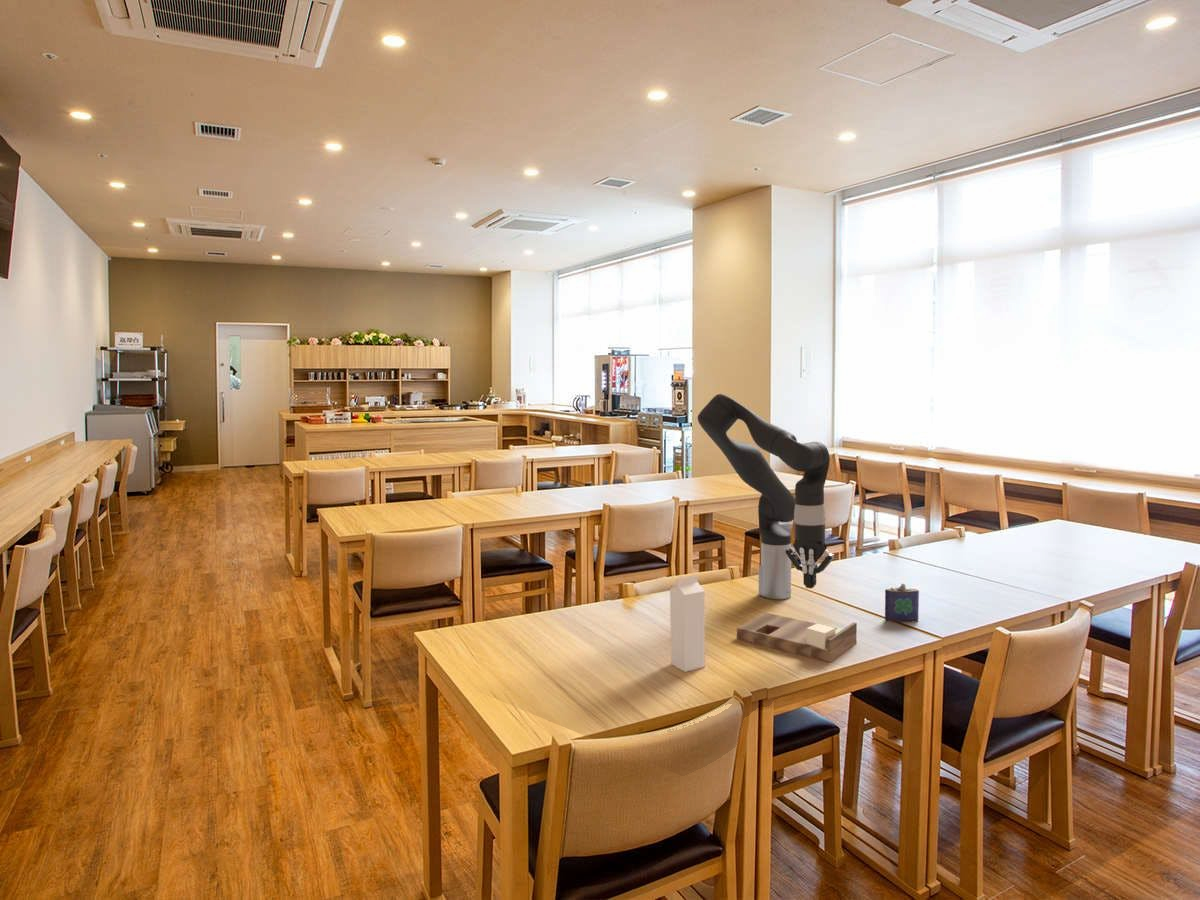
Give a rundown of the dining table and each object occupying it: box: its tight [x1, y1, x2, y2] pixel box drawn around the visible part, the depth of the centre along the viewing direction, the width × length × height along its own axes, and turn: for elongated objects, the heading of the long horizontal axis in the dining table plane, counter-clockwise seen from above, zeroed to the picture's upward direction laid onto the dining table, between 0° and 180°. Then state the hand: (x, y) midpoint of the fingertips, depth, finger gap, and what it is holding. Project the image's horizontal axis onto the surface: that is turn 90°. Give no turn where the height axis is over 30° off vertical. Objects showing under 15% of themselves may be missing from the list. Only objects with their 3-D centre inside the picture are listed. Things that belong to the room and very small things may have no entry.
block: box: [807, 622, 836, 649], centre depth 182 cm, size 5×5×4 cm
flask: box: [884, 583, 920, 623], centre depth 206 cm, size 9×3×11 cm, turn 88°
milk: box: [669, 575, 706, 673], centre depth 177 cm, size 6×6×22 cm
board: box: [736, 612, 858, 663], centre depth 193 cm, size 26×16×6 cm, turn 49°
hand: (810, 587), depth 188 cm, fingers closed
